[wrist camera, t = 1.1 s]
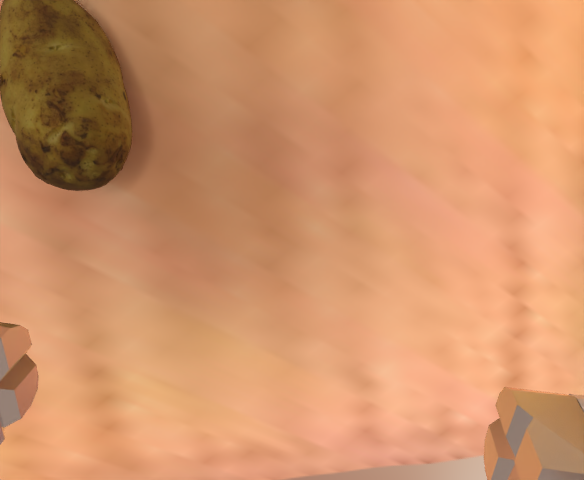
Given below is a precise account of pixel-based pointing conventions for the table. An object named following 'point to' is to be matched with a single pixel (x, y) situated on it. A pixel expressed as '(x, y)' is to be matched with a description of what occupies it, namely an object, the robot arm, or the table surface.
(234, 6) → the table surface
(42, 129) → the potato
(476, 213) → the table surface
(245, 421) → the table surface
